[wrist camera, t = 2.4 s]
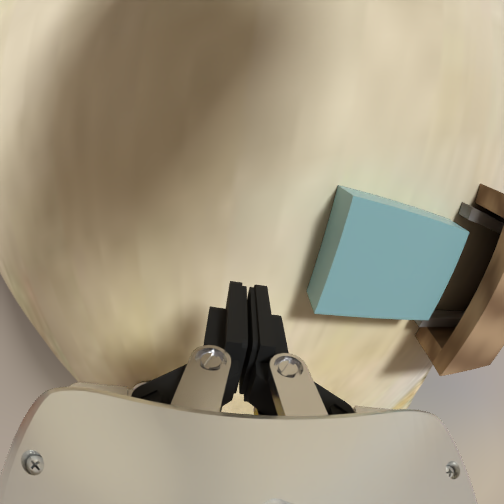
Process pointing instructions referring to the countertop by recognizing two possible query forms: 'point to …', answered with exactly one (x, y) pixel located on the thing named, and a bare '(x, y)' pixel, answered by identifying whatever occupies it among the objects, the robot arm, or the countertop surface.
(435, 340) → the shelf dock
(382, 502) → the robot arm
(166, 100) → the countertop surface
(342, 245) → the pale blue foam block
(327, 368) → the countertop surface
